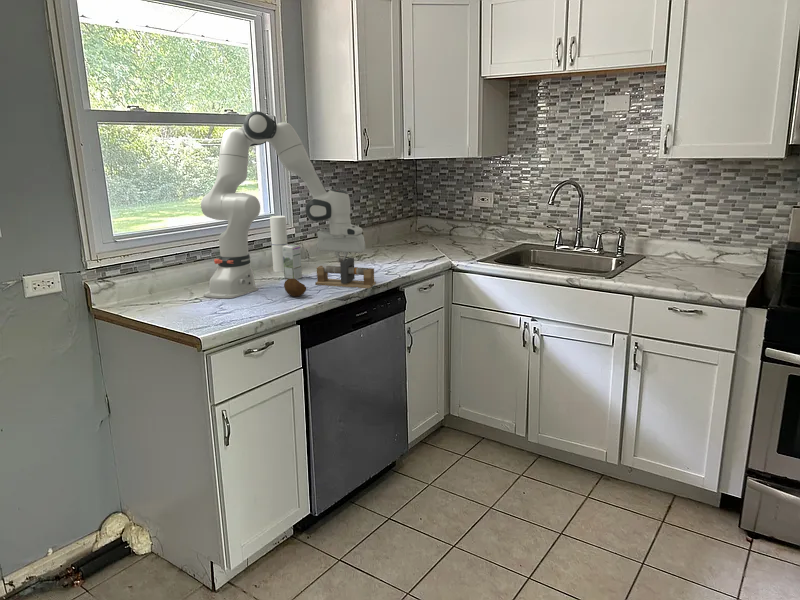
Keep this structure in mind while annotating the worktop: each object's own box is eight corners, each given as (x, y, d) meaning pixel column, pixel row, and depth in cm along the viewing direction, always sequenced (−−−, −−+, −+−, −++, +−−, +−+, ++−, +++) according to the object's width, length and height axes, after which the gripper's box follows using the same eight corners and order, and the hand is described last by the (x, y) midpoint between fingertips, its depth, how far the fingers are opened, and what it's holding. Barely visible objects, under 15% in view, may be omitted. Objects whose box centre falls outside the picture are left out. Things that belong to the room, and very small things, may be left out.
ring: (346, 283, 249) (345, 262, 246) (341, 283, 249) (340, 261, 247) (354, 278, 257) (353, 257, 255) (349, 278, 258) (348, 257, 255)
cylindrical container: (270, 271, 281) (266, 217, 274) (279, 268, 287) (276, 215, 281) (282, 272, 278) (278, 218, 271) (292, 269, 284) (288, 216, 277)
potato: (298, 300, 230) (297, 282, 229) (277, 295, 237) (276, 278, 235) (311, 296, 236) (310, 278, 234) (290, 292, 242) (289, 275, 241)
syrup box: (302, 277, 268) (300, 245, 264) (293, 280, 263) (291, 247, 259) (292, 276, 270) (290, 244, 267) (283, 278, 266) (281, 246, 262)
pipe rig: (369, 288, 247) (368, 270, 245) (315, 284, 254) (314, 267, 252) (375, 283, 254) (375, 266, 252) (323, 280, 261) (322, 263, 259)
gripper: (314, 229, 249) (315, 262, 253) (360, 231, 243) (361, 264, 247) (320, 227, 255) (322, 259, 258) (366, 228, 249) (367, 261, 252)
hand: (341, 262), depth 252 cm, fingers closed
